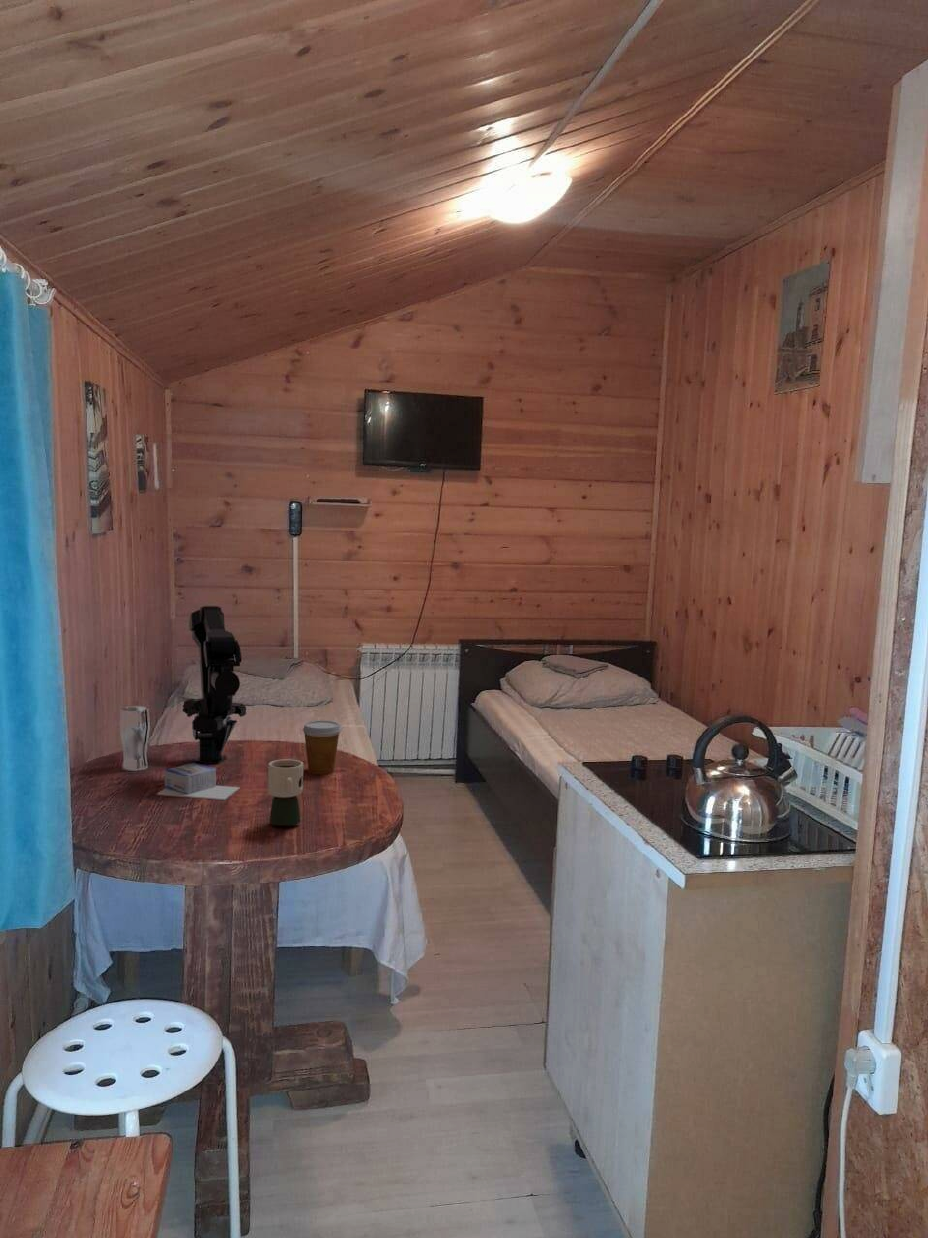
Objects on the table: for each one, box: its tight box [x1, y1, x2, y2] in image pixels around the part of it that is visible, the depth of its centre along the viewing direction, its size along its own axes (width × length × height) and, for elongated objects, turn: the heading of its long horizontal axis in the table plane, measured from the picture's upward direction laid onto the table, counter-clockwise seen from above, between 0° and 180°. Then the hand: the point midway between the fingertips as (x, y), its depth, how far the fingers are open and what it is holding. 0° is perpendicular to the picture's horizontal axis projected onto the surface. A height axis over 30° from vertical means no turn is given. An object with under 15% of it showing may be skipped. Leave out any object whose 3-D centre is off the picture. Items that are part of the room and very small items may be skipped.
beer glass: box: [119, 705, 151, 772], centre depth 226 cm, size 7×7×15 cm
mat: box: [156, 785, 240, 801], centre depth 209 cm, size 9×16×1 cm, turn 82°
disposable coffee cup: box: [302, 720, 342, 775], centre depth 229 cm, size 10×10×12 cm
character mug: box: [267, 758, 304, 828], centre depth 189 cm, size 11×7×13 cm, turn 20°
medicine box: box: [164, 762, 217, 794], centre depth 211 cm, size 8×4×9 cm
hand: (219, 751), depth 221 cm, fingers closed
